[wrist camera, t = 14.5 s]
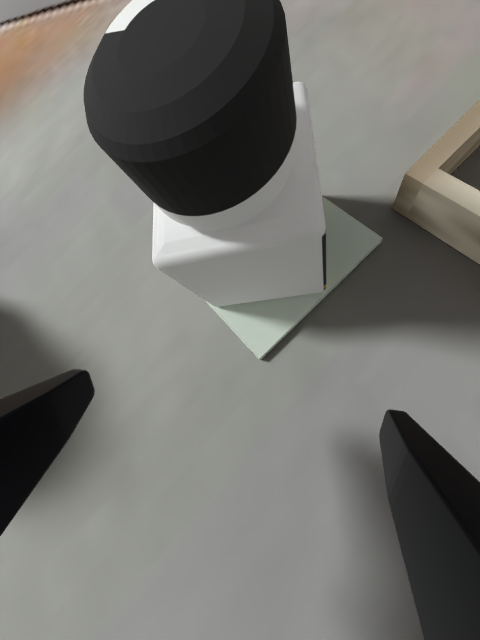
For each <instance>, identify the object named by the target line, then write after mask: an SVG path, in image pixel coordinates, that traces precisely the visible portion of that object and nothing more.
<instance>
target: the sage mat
mask: <svg viewBox="0 0 480 640" xmlns="http://www.w3.org/2000/svg"><path fill="white" fill-rule="evenodd" d="M322 202H323V210H324V217H325V224H326V289H325V290H324V291H323V292H321V293H314V294H306V295H299V296H292V297H285V298H277V299H270V300H263V301H255V302H248V303H241V304H234V305H226V306H219V307H216V306H213V305H211V304H210V303H208V302H207V301H206V302H207V303H208V304H209V305H210V306H211V308H212V309H213V310H214V311H215V312H216V313H217V314H218V315H219V316H220V317H221V318H222V319H223V321H224V322H225V323H226V324H227V325H228V326H229V327H230V328H231V329H232V330H233V331H234V333H235V334H236V335H237V336H238V337H239V338H240V339H241V340H242V341H243V342H244V343H245V344H246V346H247V347H248V348H249V349H250V350H251V351H252V352H253V353H254V354H255V355H256V356H257V358H258V359H260V360H261V359H262V358H263V357H264V356H265V355H266V354H267V353H268V352H269V351H270V350H272V349H273V348H274V347H275V346H276V345H277V344H278V343H279V342H280V341H281V340H282V339H283V338H284V337H285V336H286V335H287V334H288V333H289V332H290V331H291V330H292V329H293V328H294V327H295V326H296V325H297V324H298V323H299V322H300V321H301V320H302V319H303V318H304V317H305V316H306V315H307V314H308V313H309V312H310V311H311V310H312V309H313V308H314V307H315V306H316V305H317V304H319V303H320V302H321V301H322V300H323V299H324V298H325V297H326V296H327V295H328V294H329V293H330V292H331V291H332V290H333V289H334V288H335V287H336V286H337V285H338V284H339V283H340V282H341V281H342V280H343V279H344V278H345V277H346V276H347V275H348V274H349V273H350V272H351V271H352V270H353V269H354V268H355V267H356V266H357V265H358V264H359V263H360V262H361V261H362V260H363V259H364V258H366V257H367V256H368V255H369V254H370V253H371V252H372V251H373V250H374V249H375V248H376V247H377V246H378V245H379V244H380V243H381V241H382V239H383V238H382V237H380V236H379V235H378V234H376V233H375V232H373V231H372V230H370V229H369V228H368V227H366V226H365V225H363V224H362V223H360V222H359V221H357V220H356V219H355V218H353V217H352V216H350V215H349V214H347V213H346V212H345V211H343V210H342V209H340V208H339V207H337V206H336V205H334V204H333V203H332V202H330V201H329V200H327V199H326V198H324V197H323V196H322Z"/></svg>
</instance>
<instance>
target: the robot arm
mask: <svg viewBox="0 0 480 640" xmlns="http://www.w3.org/2000/svg"><path fill="white" fill-rule="evenodd" d="M93 396H94V387H93V384H92V381H91V378H90V375H89V373H88V372H87V371H86V370H80V369H73V370H70V371H68V372H66V373H63V374H61V375H58V376H56V377H53V378H51V379H49V380H46V381H44V382H41V383H39V384H36V385H34V386H32V387H29V388H27V389H24V390H22V391H19V392H17V393H15V394H12V395H10V396H7V397H5V398H2V399H0V536H1V535H2V533H3V532H4V530H5V529H6V528H7V526H8V525H9V523H10V522H11V520H12V519H13V518H14V516H15V515H16V513H17V512H18V511H19V509H20V508H21V506H22V505H23V503H24V502H25V501H26V499H27V498H28V496H29V495H30V494H31V492H32V491H33V489H34V488H35V486H36V485H37V484H38V482H39V481H40V479H41V478H42V477H43V475H44V474H45V472H46V471H47V470H48V468H49V467H50V465H51V464H52V462H53V461H54V460H55V458H56V457H57V455H58V454H59V453H60V451H61V450H62V448H63V447H64V445H65V444H66V442H67V441H68V439H69V438H70V436H71V434H72V433H73V431H74V429H75V428H76V426H77V424H78V423H79V421H80V419H81V417H82V416H83V414H84V412H85V411H86V409H87V407H88V405H89V404H90V402H91V400H92V398H93ZM379 437H380V446H381V453H382V460H383V466H384V473H385V480H386V487H387V493H388V499H389V503H390V508H391V512H392V516H393V519H394V523H395V527H396V531H397V535H398V539H399V543H400V546H401V550H402V554H403V558H404V562H405V566H406V570H407V573H408V577H409V581H410V585H411V589H412V593H413V597H414V601H415V604H416V608H417V612H418V616H419V620H420V624H421V628H422V631H423V635H424V639H425V640H480V482H479V481H478V480H477V479H476V478H475V477H474V476H473V475H472V474H471V473H470V472H468V471H467V470H466V469H465V468H464V467H463V466H462V465H461V464H460V463H459V462H458V461H457V460H456V459H455V458H454V457H453V456H452V455H450V454H449V453H448V452H447V451H446V450H445V449H444V448H443V447H442V446H441V445H440V444H439V443H438V442H437V441H436V440H435V439H434V438H432V437H431V436H430V435H429V434H428V433H427V432H426V431H425V430H424V429H423V428H422V427H421V426H420V425H419V424H418V423H417V422H415V421H414V420H413V419H412V418H411V417H410V416H409V415H408V414H407V413H406V412H404V411H398V410H387V411H386V413H385V416H384V419H383V423H382V426H381V429H380V435H379Z"/></svg>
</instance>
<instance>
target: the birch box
mask: <svg viewBox="0 0 480 640" xmlns="http://www.w3.org/2000/svg"><path fill="white" fill-rule="evenodd" d="M479 146H480V100H479V101H478V102H477V103H476V104H475V105H474V106H473V107H472V108H471V109H470V110H469V111H468V112H467V113H465V114H464V115H463V116H462V117H461V118H460V119H459V120H458V121H457V122H456V123H455V124H454V125H453V126H452V127H451V128H450V129H449V130H448V131H447V132H446V133H445V134H444V135H443V136H442V137H441V138H440V139H439V140H438V141H437V142H436V143H435V144H434V145H433V146H432V147H431V148H430V149H429V150H428V151H427V152H426V153H425V154H424V155H423V156H422V157H421V158H420V159H419V160H418V161H417V162H416V163H415V164H414V165H413V166H412V167H411V168H410V169H409V170H408V171H407V172H406V173H405V175H404V178H403V180H402V183H401V186H400V188H399V191H398V194H397V197H396V199H395V202H394V205H393V207H392V209H394V210H395V211H397V212H398V213H400V214H402V215H403V216H405V217H406V218H408V219H409V220H411V221H412V222H414V223H416V224H417V225H419V226H420V227H422V228H423V229H425V230H427V231H428V232H430V233H431V234H433V235H434V236H436V237H437V238H439V239H441V240H442V241H444V242H445V243H447V244H448V245H450V246H451V247H453V248H455V249H456V250H458V251H459V252H461V253H462V254H464V255H466V256H467V257H469V258H470V259H472V260H473V261H475V262H476V263H478V264H480V191H479V190H477V189H475V188H473V187H472V186H470V185H468V184H466V183H464V182H462V181H460V180H459V179H457V178H455V177H453V176H451V175H450V174H451V173H452V172H453V171H454V170H455V169H456V168H457V167H458V166H460V165H461V164H462V163H463V162H464V161H465V160H466V159H467V158H468V157H469V156H470V155H471V154H472V153H473V152H474V151H475V150H476V149H477V148H478V147H479Z"/></svg>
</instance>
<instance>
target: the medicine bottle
mask: <svg viewBox="0 0 480 640" xmlns="http://www.w3.org/2000/svg"><path fill="white" fill-rule="evenodd" d="M84 105H85V112H86V118H87V124H88V127H89V130H90V133H91V134H92V136H93V138H94V140H95V141H96V142H97V144H98V145H99V146H100V147H101V148H102V149H103V150H104V151H105V152H106V153H107V155H108V156H109V157H110V158H111V159H112V160H113V161H114V162H115V163H116V164H117V165H118V166H119V167H120V168H121V169H122V170H123V171H124V172H125V173H126V174H127V175H128V176H129V177H130V178H131V179H132V180H133V181H134V183H135V184H136V185H137V186H138V187H139V188H140V189H141V190H142V191H143V192H144V193H145V194H146V195H147V196H148V197H149V198H150V199H151V200H152V201H153V202H154V208H153V249H152V261H153V264H154V265H155V266H156V267H157V268H158V269H159V270H161V271H162V272H164V273H165V274H167V275H168V276H170V277H171V278H173V279H174V280H176V281H177V282H179V283H180V284H182V285H183V286H185V287H186V288H188V289H189V290H191V291H192V292H194V293H195V294H197V295H198V296H200V297H201V298H203V299H204V300H205V301H207V302H208V303H210V304H211V305H213V306H216V307H219V306H226V305H234V304H241V303H248V302H255V301H263V300H270V299H277V298H285V297H292V296H299V295H306V294H314V293H321V292H323V291H324V290H325V289H326V224H325V217H324V210H323V202H322V195H321V188H320V180H319V173H318V166H317V158H316V151H315V144H314V136H313V129H312V122H311V115H310V107H309V100H308V93H307V88H306V86H305V84H304V83H302V82H295V83H293V81H292V72H291V63H290V55H289V46H288V37H287V28H286V20H285V13H284V10H283V7H282V5H281V2H280V1H279V0H132V1H131V2H130V3H129V4H128V5H127V6H126V7H125V8H124V9H123V10H122V11H121V12H120V14H119V15H118V16H117V17H116V18H115V20H114V21H113V22H112V24H111V25H110V26H109V28H108V30H107V31H106V33H105V34H104V36H103V38H102V40H101V42H100V44H99V46H98V48H97V50H96V52H95V54H94V56H93V58H92V61H91V63H90V66H89V69H88V72H87V75H86V80H85V86H84Z"/></svg>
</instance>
